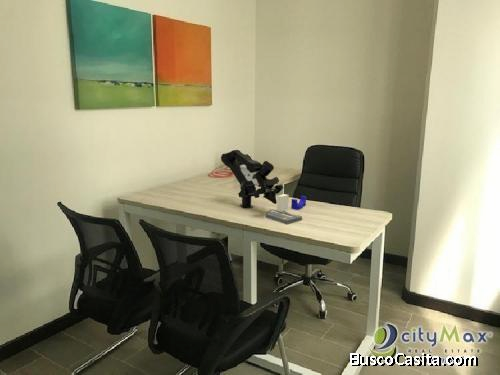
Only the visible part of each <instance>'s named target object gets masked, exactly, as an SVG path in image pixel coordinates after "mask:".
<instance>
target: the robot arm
mask: <svg viewBox="0 0 500 375" xmlns="http://www.w3.org/2000/svg"><path fill="white" fill-rule="evenodd" d="M220 160H221V162H222V163H223V164H224V165H225V166H226V167H228V168H229V169H230V171H231V173H232V174H233V175H234V177H235V178H236V180H237V182H238V183H239V186H240V188H239V189H240V191H239V192H238V194H237V195H238V197H239V198H241V204H239V206H240V207H241V208H242V209H247V208H248V209H250V208H254V206H253V205H252V197H254V198H255V199H258V198H260V195H263V196H262V198H263V199H265V200H267V201H269V202H271V203H272V204H274V205H277V197H276V196H277V194H280V192H281V191H282V190H283V189H284V186H283V185H282V184H279V183H280V179H279V177H278V176H274V177H273V178H267V177H268V176H269V175H271V173H272V172H273V171H274V168H275V167H274V165H273V164H272V163H270V162H269V161H268V160H264V161H263V163H262V162H259V161H258V160H254V159H251V158H250V157H248V156H247V155H245V154H244V153H243V152H241V150H239V149H234V150H231V151H229V152H225V153H222V154H221V156H220ZM237 161H239V162H240V163H242V165H245V166H246V168H247V170H248V171H249V172H250V173H254V172H256V174H253V178H252V179H256V180H257V182H258V184H259V185H257V187H258V188H257V187H256V185H255V184H254V183H253V181H252V180H251V181H248V180H247V179H246V177H245V176H244V174H243V173H242V171H241V168H240V166H239V165H238V163H237Z"/></svg>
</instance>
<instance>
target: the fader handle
mask: <svg viewBox="0 0 500 375" xmlns="http://www.w3.org/2000/svg"><path fill="white" fill-rule="evenodd" d="M289 196H290V195H289V194H285V193H283V194H280V195H277V197H276V201H277V203H276V205H277V206H276V209H277V211H280V213H282V214H285V211H286V212H287V211H289V199H290V197H289Z"/></svg>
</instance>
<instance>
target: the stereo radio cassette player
mask: <svg viewBox="0 0 500 375" xmlns="http://www.w3.org/2000/svg"><path fill="white" fill-rule="evenodd" d="M239 168H240V170H241V171H242V173H243V174H244V176H245V177H246V179H247V180H248V181H251V180H252V181H253V183H254V185H255V186H258V185H259V184H258V182H257V180H256V179H252V178H253V174H256V172H254V173H250V172H249V171H248V170H247V168H246V166H245V165H244V164H241V165H239Z"/></svg>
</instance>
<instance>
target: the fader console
mask: <svg viewBox="0 0 500 375" xmlns="http://www.w3.org/2000/svg"><path fill="white" fill-rule="evenodd" d="M265 218H267V219H270V220H273V221H276V222H279V223H281V224H282V223H283V224H284V225H289V224H293V223H296V222H299V221H302V220H303V216H302V215H299V214H295V213H293V212H290V211H287V210H286V211H285V214H282V213H280V211H277V208H276V210H275V211H274V210H270V212H268V213H265Z"/></svg>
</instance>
